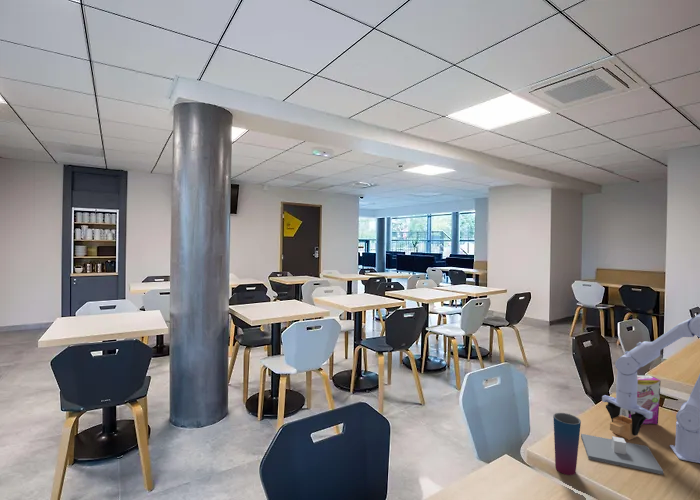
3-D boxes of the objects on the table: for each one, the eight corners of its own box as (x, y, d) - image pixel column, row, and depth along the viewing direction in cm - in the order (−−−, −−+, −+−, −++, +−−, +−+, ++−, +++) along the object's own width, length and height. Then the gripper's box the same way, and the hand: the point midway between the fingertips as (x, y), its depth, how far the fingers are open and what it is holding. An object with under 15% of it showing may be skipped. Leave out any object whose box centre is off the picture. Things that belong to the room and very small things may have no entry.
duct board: (647, 449, 118) (647, 435, 118) (663, 474, 106) (663, 459, 106) (581, 436, 126) (581, 423, 126) (588, 458, 113) (588, 444, 113)
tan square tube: (621, 429, 131) (621, 415, 131) (638, 436, 126) (638, 421, 126) (606, 434, 127) (606, 420, 127) (623, 442, 122) (623, 427, 122)
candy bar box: (629, 425, 134) (630, 379, 133) (618, 418, 139) (620, 374, 138) (659, 425, 134) (661, 379, 134) (648, 418, 139) (649, 374, 139)
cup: (552, 472, 106) (553, 420, 106) (551, 460, 112) (553, 410, 112) (580, 480, 103) (581, 426, 102) (578, 466, 109) (580, 416, 108)
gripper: (658, 396, 122) (656, 437, 123) (610, 381, 135) (609, 418, 136) (646, 400, 119) (644, 442, 119) (599, 384, 132) (597, 422, 132)
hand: (625, 430), depth 127 cm, fingers open, 5 cm apart
